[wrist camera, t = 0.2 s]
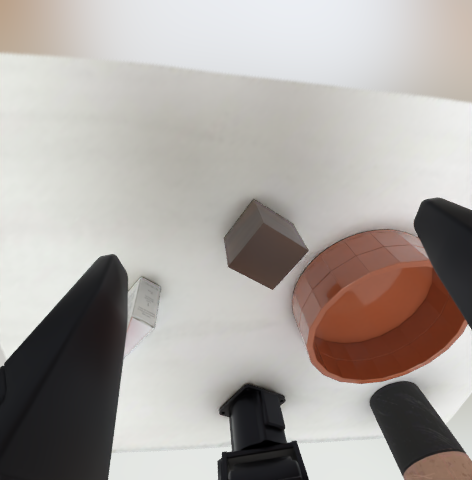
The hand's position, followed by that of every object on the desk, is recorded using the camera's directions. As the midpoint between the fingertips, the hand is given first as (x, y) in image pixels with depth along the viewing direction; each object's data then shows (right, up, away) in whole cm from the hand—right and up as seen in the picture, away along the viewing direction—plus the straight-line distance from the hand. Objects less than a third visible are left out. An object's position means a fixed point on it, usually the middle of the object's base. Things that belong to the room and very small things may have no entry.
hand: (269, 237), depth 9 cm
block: (+1, +1, +17) cm, 17 cm away
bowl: (+12, -6, +22) cm, 26 cm away
